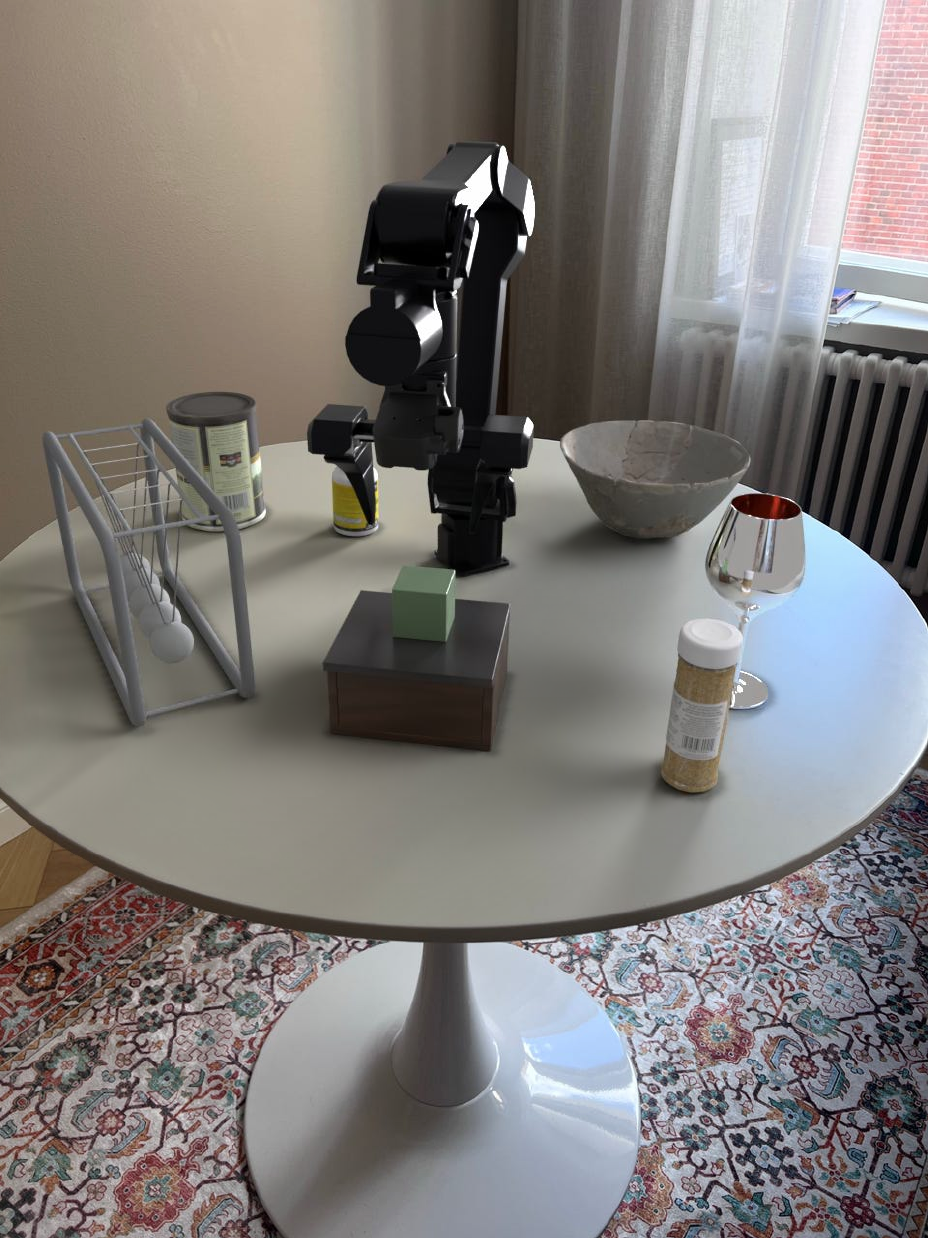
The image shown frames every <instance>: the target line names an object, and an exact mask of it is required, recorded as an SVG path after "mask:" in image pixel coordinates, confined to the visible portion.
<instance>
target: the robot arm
mask: <svg viewBox="0 0 928 1238" xmlns="http://www.w3.org/2000/svg"><path fill="white" fill-rule="evenodd" d="M445 154H446V155H444V157H442V159H440V160H439V162H437V164H435V165H434V166H433V168H431V169H430V171H428V172H427V174H425V175H424V176H423V177H422V178H421V179H417V180H404V181H403V180H402V181H393V182H389V183H386V184H384V185H382V186H381V187H380V189H379V190H378V192H377V194H376V197H375V199H373V200H372V201H371V203H370V205H369V208H368V213H367V218H366V224H365V229H364V233H363V234H364V235H363V240H362V246H361V250H360V251H361V252H360V256H359V262H358V268H357V273H356V278H355V279H356V281H355V282H356V284H357V285H358V286H369V287H371V288H370V290H369V300H370V301H369V305H368V306H366V307H364V309H362V310H360V311H359V312H358V313H357V314H356V315H355V316H354V317H353V318H352V320H351V321H350V324H349V325H348V328H347V331H346V335H345V336H344V338H345V339H344V346H345V352H346V356H347V358H348V361H349V363H350V365H351V366H352V368H353V369H354V371H355V372H356V373H357V374H358V375H359V376H360V377H361V378H362V379H364V380H366V381H367V382H369V383H370V384H374V385H377V386H381V387H384V391H383V395H382V397H381V399H380V404H379V409H378V412H377V415H376V418H375V419H369V414H368V410H367V409H366V406H364V405H350V404H337V403H335V404H333V403H327V404H326V405H325V406H324V407H322V409H321V410H320V411H319V412H318V413H317V414H316V415H315V417H314V418H313V419H312V420H311V421H310V422H309V423H308V424H307V432H306V441H307V452H308V453H310V454H312V455H321V456H323V460H324V462H325V463H327V464H330V465H331V464H332V465H335V466H336V467H339V468H340V469H341V470H342V471H343V472H344V473H345V475H346V476H347V478H348V480H349V482H350V483H351V485H352V487H353V489H354V492H355V494H356V496H357V499H358V501H359V504H360V506H361V508H362V511H363V513H364V516H365V518H366V520H367V523H368V525H373V524H374V522H375V513H376V497H375V483H374V468H375V467H374V454H373V445H374V453H375V460H376V463H377V465H378V466H379V467H381V468H385V469H393V468H396V467H397V468H407V469H410V468H411V469H414V470H415V471H427V491H428V492H427V493H428V499H429V507H430V508H429V509H430V513H431V514H433V515H436V514H440V516H441V517H440V520H441V522H440V523H438V525H437V548H436V549H435V550H433V555H434V556H435V557H436V558H437V559H438V560H439V561H441V562H442V563H443V564H444V565H445V566H447V567H448V568H449V569H451V570H455V575H457V576H459V577H465V576H469V575H473V574H478V573H482V572H487V571H490V570H494V569H495V570H496V569H500V568H503V567H507V566H509V565H510V560H509V559H508V558H507V557H505V556H504V555H503V537H504V536H503V535H504V523H506V522H507V520H508V519H510V518H513V517H516V515H517V502H518V501H517V492H516V485H515V481H514V479H513V471H514V470H521V469H525V468H526V469H527V468H528V465H529V463H530V459H531V455H532V451H533V447H534V430H535V427H534V424H533V422H532V421H531V419H530V418H529V417H528V416H516V415H500V414H499V415H498V414H496V412H497V401H498V391H499V390H498V389H499V380H500V379H499V378H500V365H501V357H502V356H501V355H502V342H503V331H504V319H505V308H506V297H507V284H508V280H509V278H511V275H512V274H513V272H514V271H515V270H516V268H517V267H518V265H519V264H520V262H521V261H522V259H523V258H524V256H525V254H526V248H527V238H528V237H531V236H532V234H533V229H534V223H535V199H534V195H533V189H532V185H531V180H530V179H529V177H528V176H527V175H526V174H524V173H523V172H522V171H521V170H520V169H519V168H518V167H516V166H515V165H514V164H513V163H511V161H510V160H509V158H508V155H507V150H506V147H505V146H504V145H499V144H498V143H497V142H490V141H465V140H464V141H463V140H457V141H456V142H455V143H449V145H448V147H447V150H446V153H445ZM379 261H380V262H379ZM461 286H462V288H461ZM460 288H461V289H462V290H461V300H460V301H461V303H460V317H459V328H458V294H457V292H458V291H457V290H459V289H460ZM457 329H459V330H457ZM457 335H458V337H457ZM457 339H458V340H457ZM457 341H458V343H457Z"/></svg>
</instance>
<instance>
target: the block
mask: <svg viewBox="0 0 928 1238" xmlns="http://www.w3.org/2000/svg"><path fill="white" fill-rule="evenodd" d="M391 593H392V621H393V637H398V638H409V639H419V640H430V641H440V642H446V640H447V637H448V634H449V631H450V628H451V625H452V622H453V619H454V616H455V599H456V573H455V570H452V569H450V568H449V569H448V568H440V567H439V568H438V567H427V566H415V565H402V567H401V569H400V571H399V574H398V576H397V578H396V580H395V583H394V584H393V586H392V588H391Z"/></svg>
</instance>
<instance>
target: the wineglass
mask: <svg viewBox="0 0 928 1238" xmlns="http://www.w3.org/2000/svg"><path fill="white" fill-rule="evenodd" d="M803 519H804V518H803V510H802V508H801V506H800V505H799V504H798V503H797V502H795V501H793V500H791V499H789V498H786V497H783V496H780V495H775V494H771V493H763V492H762V493H761V492H748V493H743V494H738V495H736V496H734V497H731V499H730V501H729V503H728V504H727V507H726V509H725V511H724V513H723V515H722V518H721V520H720V522H719V524H718V526H717V528H716V530H715V533H714V535H713V537H712V540H711V541H710V544H709V547H708V550H707V553H706V556H705V561H704V569H705V575H706V578H707V579H706V580H707V581H708V583H709V585H710V587H711V588H712V590H713V591H714V593H715V594H716V595H717V597H718V598H719V599H720V600H721V601H722V602H723V603H724V604H725V605H727V606H728V607H729V608H730V609H731V610H732V611H733V612H734V613H735V615H736V617H737V619H738V628H737V629H738V630H739V631H740V632H741V634H742V637H743V644H742V651H741V657H740V660H739V661H738V665H737V666H736V668H735V674H734V682H733V688H732V694H731V700H730V706H729V709H733V710H749V709H754V708H758V707H760V706H762V705H763V704H764V703H766V701H767V699H768V696H769V691H768V688H767V686H766V685H765V683H764V682H763V681H761V680H760V679H759V678H758V677H756V676H754V675H752V674H750V673H747V672H745V671H742V670H741V668H742V661H743V656H744V651H745V646H746V641H747V634H748V631H749V625H750V623H751V622H752V621H753V620H754V619H755V618H756V617H758V616H760V615H762V614H765V613H767V612H769V611H771V610H774V609H776V608H778V607H780V606H782V605H783V604H784V603H787V602H788V601H790V599H791V598H792V597H794V595H796V593H797V592H798V591H799V590H800V587H801V586H802V585H803V582H804V579H805V574H806V542H805V529H804V520H803Z"/></svg>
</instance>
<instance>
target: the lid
mask: <svg viewBox="0 0 928 1238" xmlns="http://www.w3.org/2000/svg"><path fill="white" fill-rule="evenodd" d="M509 614H510V615H511V603H507V602H497V601H484V600H473V599H461V598H455V616H454V619H453V622H452V625H451V628H450V631H449V634H448V637H447V640H446V642H440V641H430V640H419V639H409V638H398V637H393V621H392V592H384V591H373V590H364V589H363V590H362V589H360V591H359V593H358V595H357V597H356V598H355V600H354V602H353V604H352V605H351V608H350V610H349V612H348V614H347V616H346V618H345V620H344V621H343V624H341V625H342V626H341V627H340V629H339V631H338V632H337V634H336V637H335V638H334V640H333V642H332V644H331V646H330V648H329V650H328V652H327V654H326V656H325V658H324V660H323V661H322V671H323V672H327V671H331V672H341V673H351V674H361V675H371V676H380V677H390V678H400V679H410V680H420V681H430V682H440V683H450V684H459V685H469V686H479V687H489V688H492V686H493V682H494V678H495V673H496V669H497V665H498V661H499V656H500V652H501V648H502V644H503V639H504V635H505V631H506V626H507V622H508V618H509Z"/></svg>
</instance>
